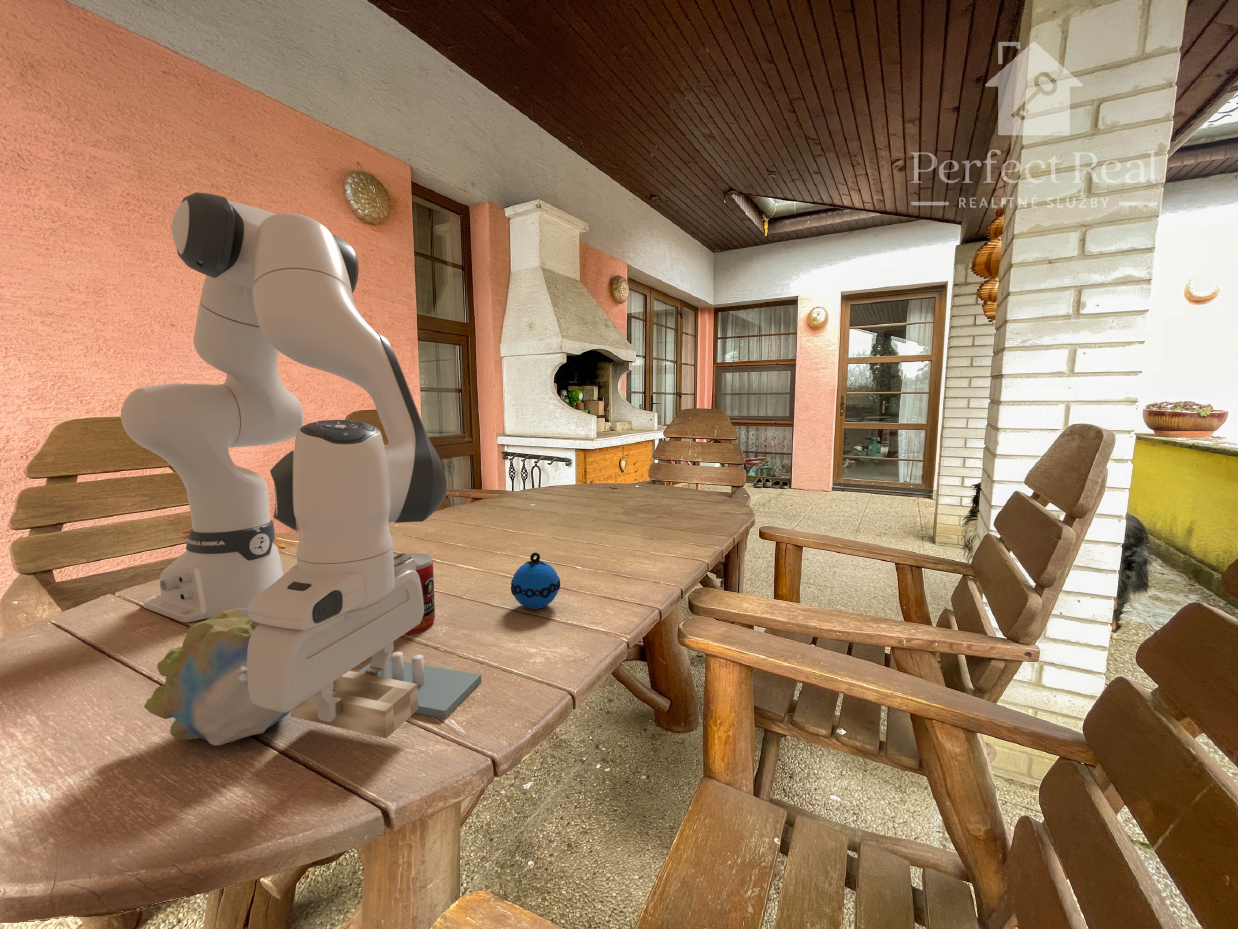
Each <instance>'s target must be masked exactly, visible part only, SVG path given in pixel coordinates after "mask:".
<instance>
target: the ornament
mask: <svg viewBox="0 0 1238 929" xmlns="http://www.w3.org/2000/svg"><path fill="white" fill-rule="evenodd" d="M529 559H530V560H528V561H526V562H524V563H523V564H521V565H520V567H518V569H517V570H515V572H514V574H513V577H512V579H511V582H510V591H511V595H512V596H513V597H514V598H515V600H516V601H517V602H518V603H519V604H520V605H521V606H523V607H524V608H528V609H531V610H536V609H537V610H538V609H539V610H540V609H542V608H544V607H547V606H548V605H549V604H551V603H552V602H553V601H554V600H555V598H556V596H557V595H558V593H559V591H560V589H561V579H560V577H559V575H558V573H557V571H556V570H555V568H554V567H553V566H552V565H551V564H549V563H547V562H545V561H542V560H541V555H540V554H539V553H538V552H533V553H531V554H530V557H529Z"/></svg>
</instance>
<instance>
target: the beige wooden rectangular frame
mask: <svg viewBox="0 0 1238 929" xmlns="http://www.w3.org/2000/svg"><path fill="white" fill-rule="evenodd" d="M333 683H334V689H333V690H332V691H330V692H329V694H330V695H331V696H334V698H336V697H339V698H343V705H342V708H343V712H342V713H341V714H340V715H339V716H337V717H336V718H335V719H333V720H332V721H331V722H327V721H323V720H320V719H319V717H318V711H317V704H315V703H314V702H313V701H312V700H311V699H310V698H308V699H307V700H305V701H304V702H302V703H301V704H299V705H298V706H296V707H295V708H293V709H292V710H291V711H290V714H291V717H292V718H296V719H300V720H305V721H309V722H313V723H318V724H321V725H325V726H331V727H334V728H335V727H336V728H340V729H344V730H348V731H352V732H355V733H356V732H357V733H360V734H366V735H369V736H374V737H377V738H383V739H387V738H389V736H391V735H392V734H393V733H394V732H395V731H397V729H399V728H400V726H402V725H403V724H404V723H405V722H406V721H407V720H408V719H409V718H410V717H411V716H413V715H414V714H415V713H414V712H416V711H417V710H418V693H417V684H415V683H410V682H405V681H399V680H394V679H389V678H384V677H379V676H373V675H368V674H364V673H358V671H352V670H350V671H348V672H347V673H345V674H344V675H342V676H341V677H339V678H338V679H336V680H335V681H333Z"/></svg>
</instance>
